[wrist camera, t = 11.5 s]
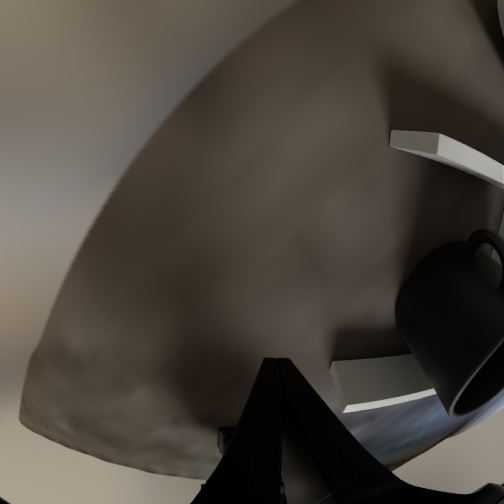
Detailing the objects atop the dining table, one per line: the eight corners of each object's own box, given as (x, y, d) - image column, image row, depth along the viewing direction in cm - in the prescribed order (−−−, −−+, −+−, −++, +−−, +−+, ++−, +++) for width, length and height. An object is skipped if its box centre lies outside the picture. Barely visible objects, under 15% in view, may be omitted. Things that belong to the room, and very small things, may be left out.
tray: (450, 353, 21) (470, 381, 17) (329, 369, 20) (342, 412, 16) (514, 183, 14) (550, 198, 10) (391, 130, 13) (439, 133, 9)
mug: (485, 196, 14) (572, 241, 6) (469, 317, 19) (519, 377, 11) (392, 221, 15) (493, 300, 7) (390, 353, 20) (432, 436, 12)
